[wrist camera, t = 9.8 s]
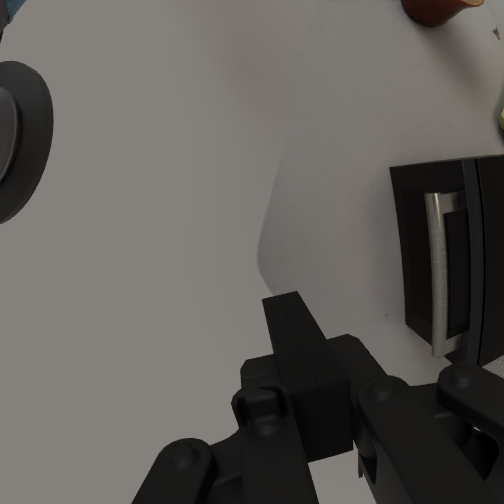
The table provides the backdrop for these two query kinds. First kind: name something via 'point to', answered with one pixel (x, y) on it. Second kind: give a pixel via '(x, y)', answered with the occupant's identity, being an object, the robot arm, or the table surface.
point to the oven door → (442, 254)
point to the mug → (436, 10)
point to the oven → (491, 255)
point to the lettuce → (502, 118)
